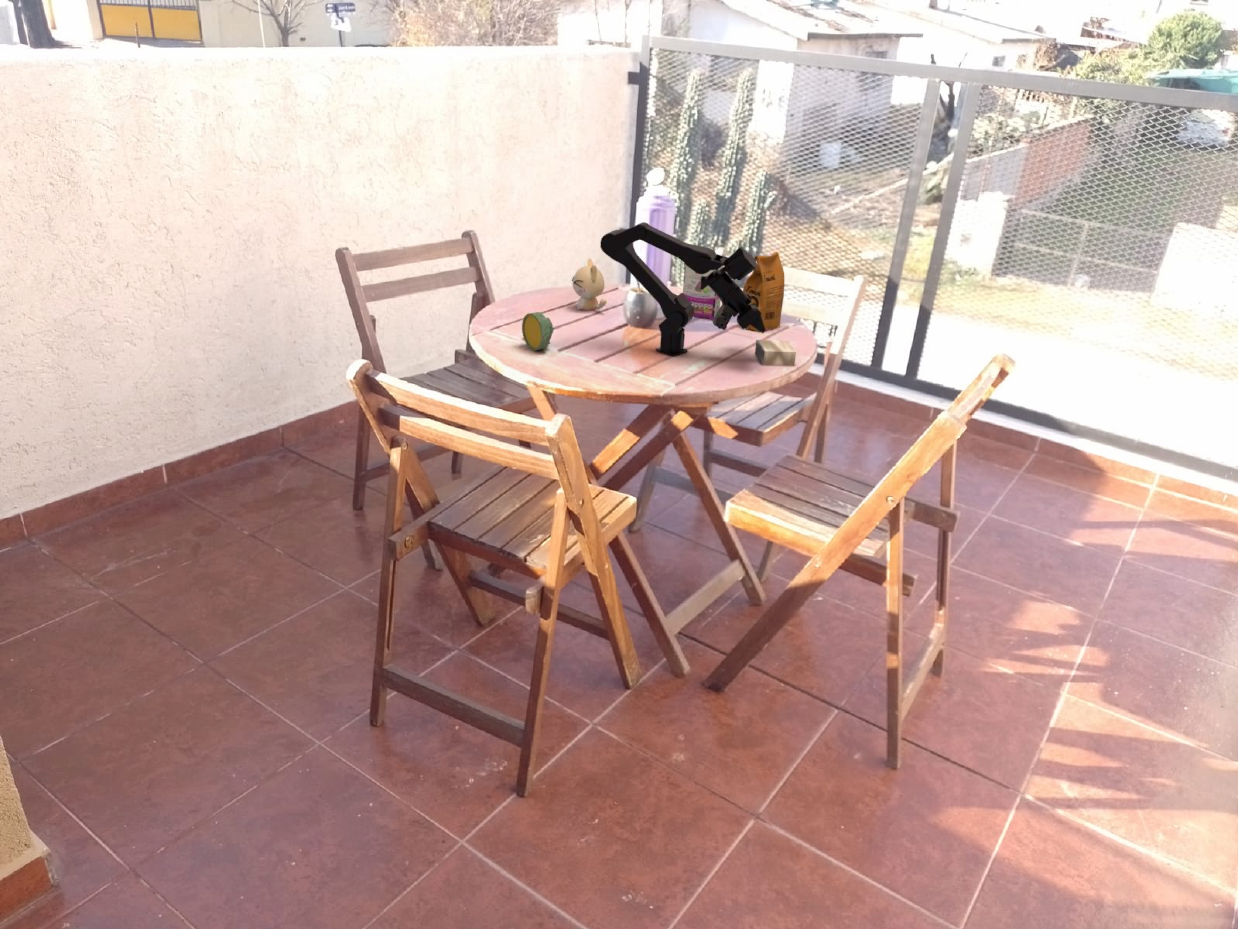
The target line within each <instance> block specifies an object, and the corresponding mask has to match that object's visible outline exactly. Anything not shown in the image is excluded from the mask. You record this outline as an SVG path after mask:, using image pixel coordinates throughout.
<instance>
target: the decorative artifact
mask: <svg viewBox="0 0 1238 929" xmlns="http://www.w3.org/2000/svg"><path fill="white" fill-rule="evenodd" d="M554 329H555V327H554V326H553V323H552V321H551V319H550V318H549V317H546V316H545V315H544V314H543V313H542V312H539V311H537V312H536V311H535V312H530V313H527V314H525V315H524V317H523V319H522V322H521V331H522V332H521V333H522V337H523V340H524V342H525V344H526V346H527V347H528V348H529V349H530V350H531V351H539V350H541V351H542V350H545V349H546V348H548V346H549V345H550V344H551V339H552V335H553V333H554Z"/></svg>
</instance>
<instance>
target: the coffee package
mask: <svg viewBox="0 0 1238 929" xmlns="http://www.w3.org/2000/svg"><path fill="white" fill-rule="evenodd" d="M754 259H755V261H756V263H757V266H758V267H757V268H756V269H755V270H753V271H752V272H751V273H750V275H749V277H748V278H747V280H746V282H745V283H744V285H743V289H742V291H746V292H747V293H748V294H749V295H750V296H751V298H752V299H751V303H750V304H753V303H755V304H756V306H757V307H758V309H759V310H760V312H761V313H762V314H761V318H762V321H763V324H764V327H765V330H774V329H776V328H778V327H779V326H781V318H782V310H783V304H784V298H785V295H784V294H785V283H786V282H785V271H784V267H783V264H782V261H781V258H780V255H779V252H778V251H775V252H774V251H773V253H772V254H771V255H756V256H755V257H754ZM750 304H749V305H750ZM745 329H746V330H750V331H753V332H758V333H761V332H760V331H758V330H757V329H756V328H754V327H753V326H751V325H749V326H748V327H746V328H745Z"/></svg>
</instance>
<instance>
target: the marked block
mask: <svg viewBox="0 0 1238 929" xmlns="http://www.w3.org/2000/svg"><path fill="white" fill-rule="evenodd" d="M754 348H755V350H754V354H755V356H756V358H757V360H758V362H759V363H760V365H761V366H780V367H781V366H787V367H788V366H789V367H795V364H796V358H797V351H796V350H795V348H794V346H793V345H792V344H791V342H790V340H773V339H771V340H770V339H767V340H766V339H755V347H754Z"/></svg>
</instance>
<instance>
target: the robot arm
mask: <svg viewBox="0 0 1238 929" xmlns="http://www.w3.org/2000/svg"><path fill="white" fill-rule="evenodd" d="M637 241H642V242H644V243H647V244H648V245H650V246H653V247H655V248H657V249H659V250H661V251H663V252H665V253H667V254H670V255H671V256H673V257H676V258H677V259H679V260H680V261H682V263H683V264H684V265H685V264H686V266H688V267H689V268H690V269H692V270H693V271H695V272H696V273H698V274H705V273H708V272H709V271H710V270H714V271H713V272H712V273H710V274H709V275H708V276H701V287H700V289H701V290H703V289H704V288H705V287H707V286H709V287H710V288H711V289H712V290H713V291H714V292H715V294H716V295H717V296H718V297H719V298H720V303H721V304H720V308H719V310H718V312H717V313H716V315H715V317H714V319H713V320H712V324H713V326H715V327H717V329H719V330H722V331H725V330H726V329H727V328H728V324H729V322H730V320H731V319H732V317H733V318H735V317H736V322H737V324H738V326H739V327H740V328H741V329H742V330H745V329H747V328H746V327H748V326H749V325H751V326H753V327H754V328H756V329H757V330H758V331H760V332H759V333H761V334H765V332H767V331H766V330H767V329H766V330H765V327H764V324H763V321H762V318H761V314H762V313H761V312H760V310H759V309H758V307H757V306H756V304H755V303H753V304H750V303H751V299H752V298H751V296H750V295H749V294H748V293H747V292H746V291H743V289H742V288H741V287H740V285H739V284H738V283H736V281H735V280H737V281H742V280H743V279H745V278H746V277H747V276H748V275H749V274H752V273H753V270H755V269H756V268H757V267H758V266H757V261H756V260H755V259H754V258H755V257H754V256H753V254H750V252H748V251H747V250H746V249H744V247H743V246H740V247H738V249H736V250H735V251H734V252H733V254H731V255H730V256H725V255H722V254H718V253H717V252H716V251H715V250H713V249H712V248H709V247H705V246H702V245H696V244H691V243H687V242H685V241H683V240H681V239H679V238H677V237H675V236H673V235H670V234H668V233H666V232H664V231H663V230H660V229H658V228H656V227H654V226H652V225H650V224H649V223H647V222H640V223H638V224H636V225H634V226H632V227H629V228H627V229H624V230H621V229H613V230H612V231H610V232H607V233H605V234H604V235H602V237H601V239H600V250H601V251H602V253H604V254H605V255H606V256H608V257H609V258H610V259H612V260H613V261H615V262H617V263H619V264H620V265H623V267H624V268H625V269H627V271H628V272H629V273H630V274H631V275H632V276H633V277H634V278H635V279H636V280H637V282H639V284H640V285H641V286H642V287H643V288H644V289H645V290H646V291H647V292H648V294H649V295H650V296H652V298H653V299H654V300H655V301H656V302H657V303H658V305H659V307H660V309H661V312H662V314H663V316H664V318H665V319H664V320H663V321H661V322H660V323H659V324H658V329H659V332H660V343H659V344H660V346H659V347H658V348H655V351H656V352H659V353H663V354H666V355H669V356H673V357H674V356H678V355H680V354H681V355H682V354H684V353H687V352H688V349H686V348H685V338H686V336H685V327H686V325H688V324H689V323H690V322H691V321H692V319H694V317H693V316H694V308H693V307H692V305H691V304H692V302H690V301H689V300H688V299H687V298H686V297H685V295H684V294H683V292H680V293H679V294H675V293H674V292H672V291H671V290H670V289H669V287H667V286H666V285H665V283H664V282H663V281H662V280H661V279H660V277H658V276H657V275H656V274H655V272H654V271H653V270H652V269H651V268H650V267H649V266H648V264H646V262H644V260H643V259H642V258H641V257H640V256H639V255H638V254H637V252H636V249H635V246H634V245H633V243H635V242H637ZM722 266H723V268H722V269H720V270H718V269H719V268H720V267H722ZM716 270H718V271H716ZM749 304H750V305H749Z"/></svg>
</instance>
